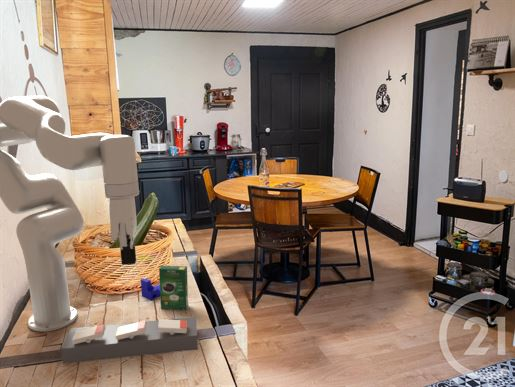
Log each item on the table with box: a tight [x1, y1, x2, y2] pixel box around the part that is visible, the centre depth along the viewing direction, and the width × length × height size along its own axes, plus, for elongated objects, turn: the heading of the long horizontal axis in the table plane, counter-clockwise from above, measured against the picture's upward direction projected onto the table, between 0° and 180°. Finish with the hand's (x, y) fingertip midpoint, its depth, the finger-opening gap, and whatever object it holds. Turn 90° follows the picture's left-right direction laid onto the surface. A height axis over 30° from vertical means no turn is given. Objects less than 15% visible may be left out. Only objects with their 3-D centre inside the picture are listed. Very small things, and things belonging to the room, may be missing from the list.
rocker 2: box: [116, 319, 147, 340], centre depth 107 cm, size 4×7×2 cm, turn 99°
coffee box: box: [158, 264, 189, 311], centre depth 127 cm, size 8×3×13 cm, turn 86°
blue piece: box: [140, 277, 160, 301], centre depth 138 cm, size 12×4×6 cm, turn 142°
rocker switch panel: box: [60, 316, 199, 364], centre depth 109 cm, size 9×32×4 cm, turn 99°
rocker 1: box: [72, 323, 106, 344], centre depth 105 cm, size 4×7×2 cm, turn 99°
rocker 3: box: [158, 318, 187, 335], centre depth 108 cm, size 4×7×2 cm, turn 99°
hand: (129, 262), depth 104 cm, fingers closed
